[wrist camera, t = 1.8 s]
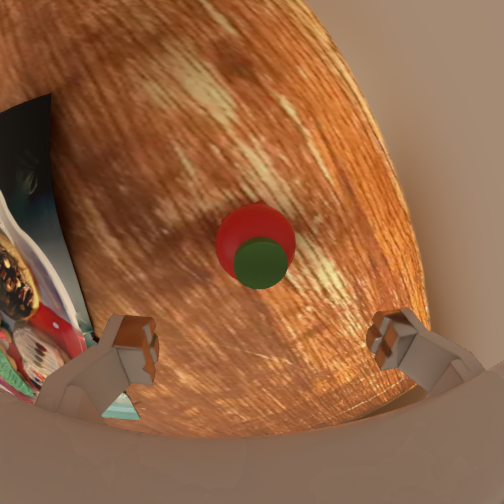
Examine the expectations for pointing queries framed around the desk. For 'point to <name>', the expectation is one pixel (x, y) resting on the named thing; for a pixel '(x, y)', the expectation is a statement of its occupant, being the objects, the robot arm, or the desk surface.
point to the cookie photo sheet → (36, 264)
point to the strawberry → (255, 245)
